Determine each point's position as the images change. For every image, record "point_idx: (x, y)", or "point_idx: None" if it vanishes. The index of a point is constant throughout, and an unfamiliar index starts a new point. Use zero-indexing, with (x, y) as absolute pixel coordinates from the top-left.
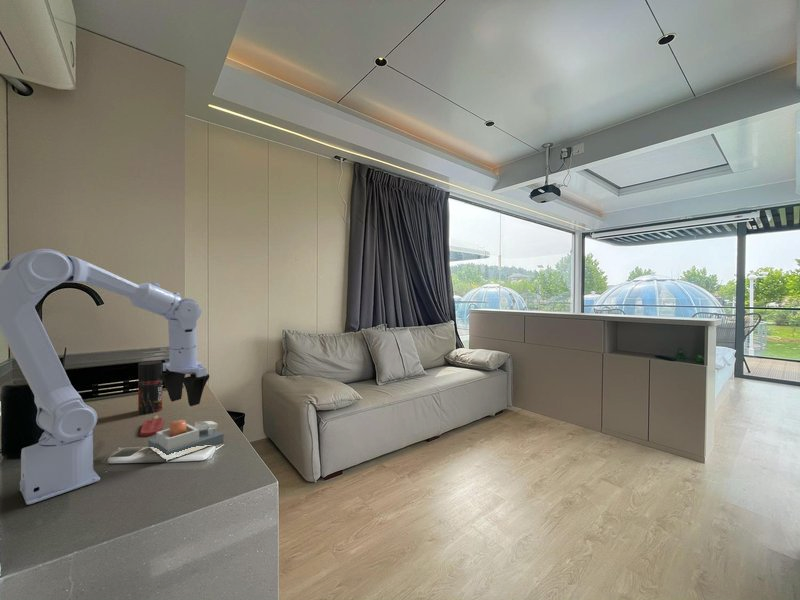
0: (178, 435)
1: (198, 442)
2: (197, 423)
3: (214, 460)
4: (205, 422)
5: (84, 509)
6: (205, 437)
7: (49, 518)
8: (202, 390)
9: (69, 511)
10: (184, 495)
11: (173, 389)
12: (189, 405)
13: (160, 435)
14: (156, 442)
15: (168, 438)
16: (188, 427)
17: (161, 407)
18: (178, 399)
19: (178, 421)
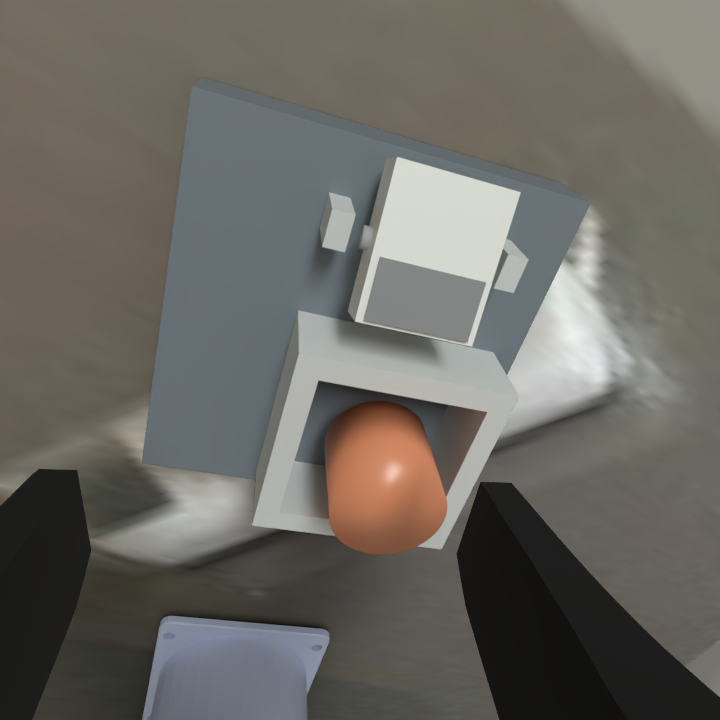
0: (454, 499)
1: (509, 368)
2: (400, 330)
3: (668, 376)
4: (417, 256)
5: (463, 681)
6: (498, 304)
7: (416, 717)
8: (638, 631)
9: (432, 695)
10: (716, 561)
11: (15, 702)
12: (458, 560)
13: (325, 531)
14: (246, 466)
15: (434, 542)
16: (378, 388)
17: None
18: (82, 501)
19: (370, 502)
